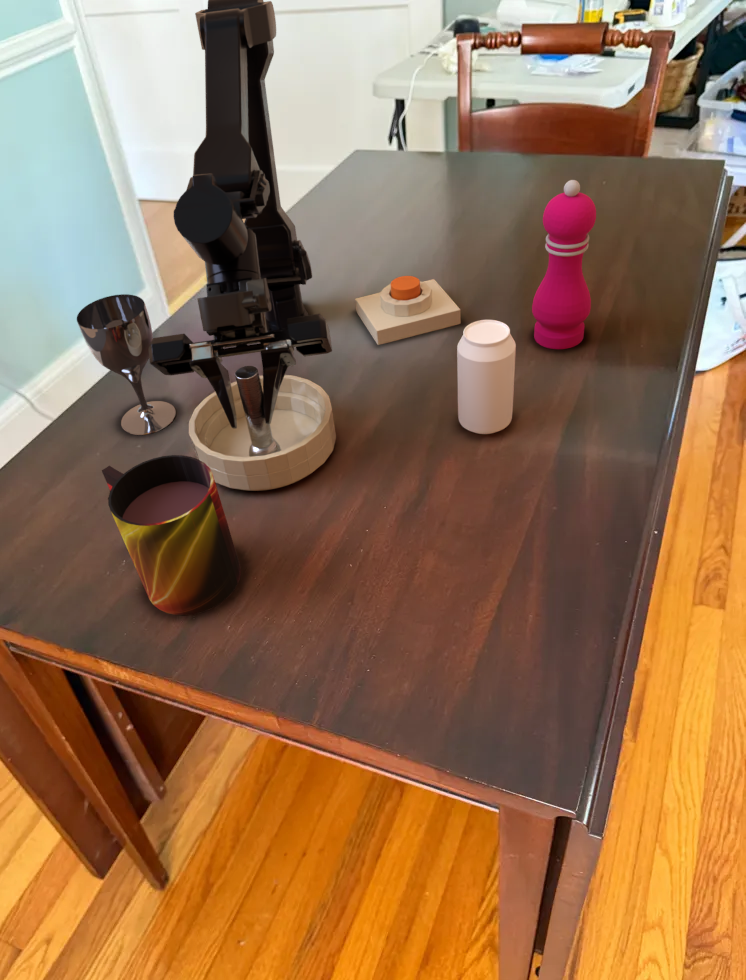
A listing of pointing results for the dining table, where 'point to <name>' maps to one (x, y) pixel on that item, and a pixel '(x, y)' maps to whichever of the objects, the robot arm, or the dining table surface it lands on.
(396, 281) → the timer button
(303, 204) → the dining table surface
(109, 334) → the wine glass
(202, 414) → the bowl
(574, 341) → the pepper mill
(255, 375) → the metal pestle
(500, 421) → the beverage can
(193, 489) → the mug
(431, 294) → the push button box
